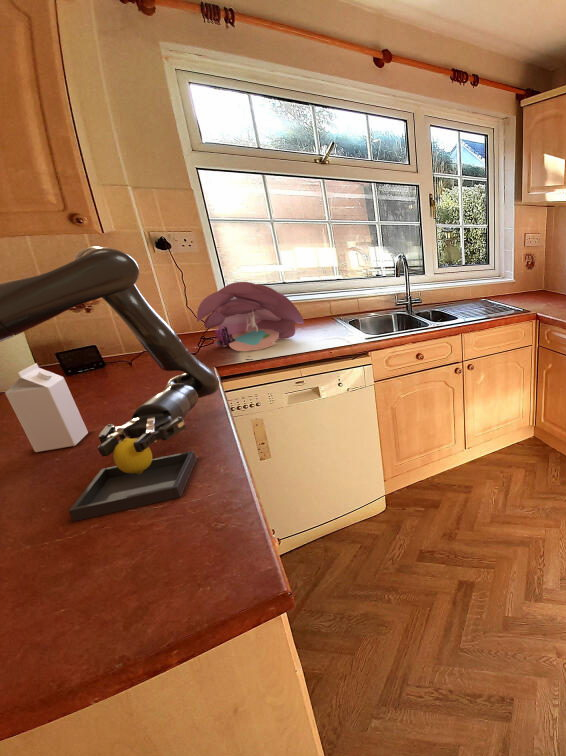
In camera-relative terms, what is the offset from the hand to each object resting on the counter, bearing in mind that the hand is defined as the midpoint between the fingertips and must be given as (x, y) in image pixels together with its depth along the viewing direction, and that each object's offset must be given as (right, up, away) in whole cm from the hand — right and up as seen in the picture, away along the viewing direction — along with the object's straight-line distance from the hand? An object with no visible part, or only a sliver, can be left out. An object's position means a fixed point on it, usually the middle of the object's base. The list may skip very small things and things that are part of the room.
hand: (120, 449), depth 79 cm
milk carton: (-34, -2, +21) cm, 40 cm away
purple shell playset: (-33, +29, +97) cm, 107 cm away
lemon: (-1, -6, +5) cm, 8 cm away
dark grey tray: (0, -8, +4) cm, 9 cm away
